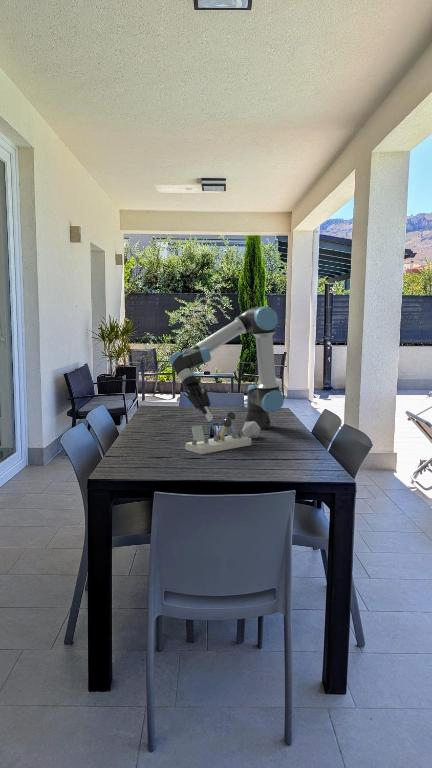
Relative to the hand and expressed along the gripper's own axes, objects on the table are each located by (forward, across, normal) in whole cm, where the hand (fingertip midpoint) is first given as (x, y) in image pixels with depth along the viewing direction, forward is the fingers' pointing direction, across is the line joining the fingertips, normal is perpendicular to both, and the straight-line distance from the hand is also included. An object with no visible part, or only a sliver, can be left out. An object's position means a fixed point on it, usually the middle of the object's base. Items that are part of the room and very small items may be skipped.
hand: (210, 419), depth 254 cm
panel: (+13, 0, -4) cm, 13 cm away
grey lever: (+11, -11, -2) cm, 15 cm away
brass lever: (+11, 0, -2) cm, 11 cm away
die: (+9, -27, -9) cm, 29 cm away
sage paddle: (+11, +11, -2) cm, 16 cm away
